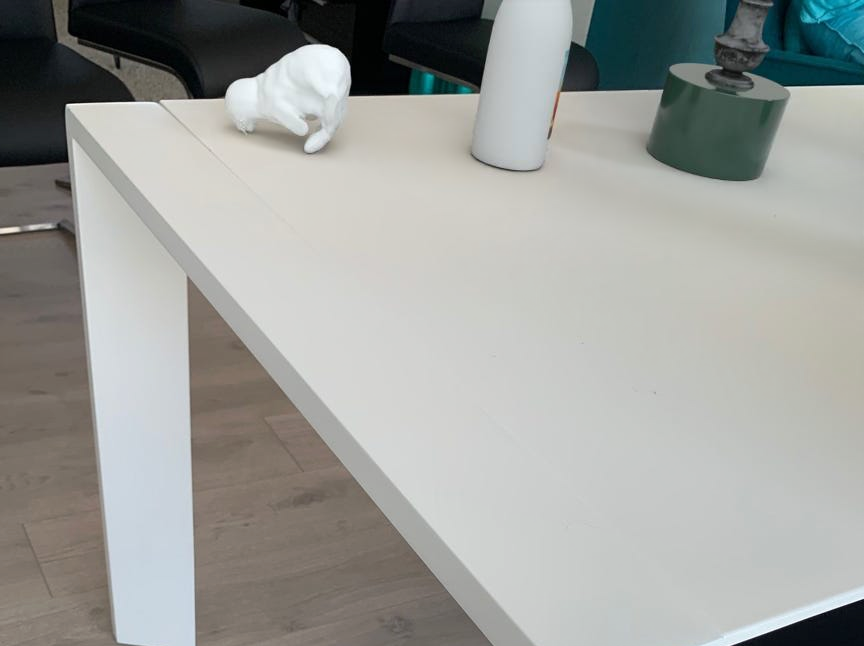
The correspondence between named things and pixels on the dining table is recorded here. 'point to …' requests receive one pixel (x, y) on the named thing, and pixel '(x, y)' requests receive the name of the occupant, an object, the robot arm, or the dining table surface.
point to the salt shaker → (741, 45)
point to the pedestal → (716, 123)
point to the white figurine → (295, 94)
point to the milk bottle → (522, 83)
